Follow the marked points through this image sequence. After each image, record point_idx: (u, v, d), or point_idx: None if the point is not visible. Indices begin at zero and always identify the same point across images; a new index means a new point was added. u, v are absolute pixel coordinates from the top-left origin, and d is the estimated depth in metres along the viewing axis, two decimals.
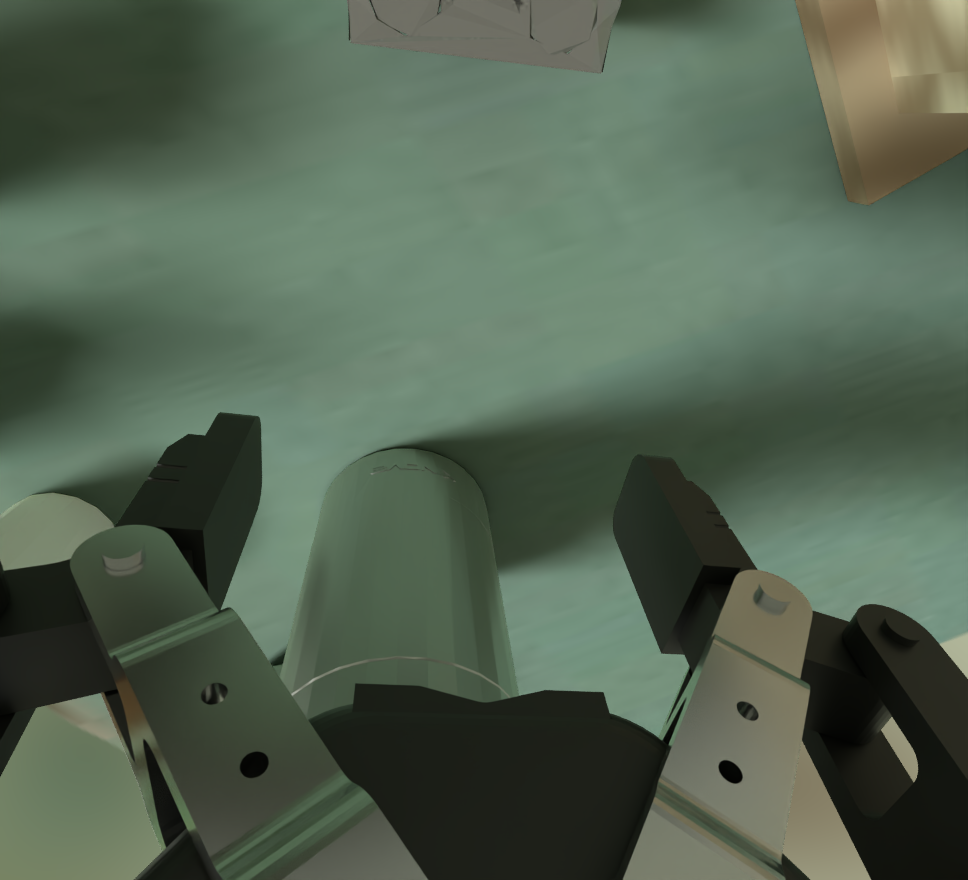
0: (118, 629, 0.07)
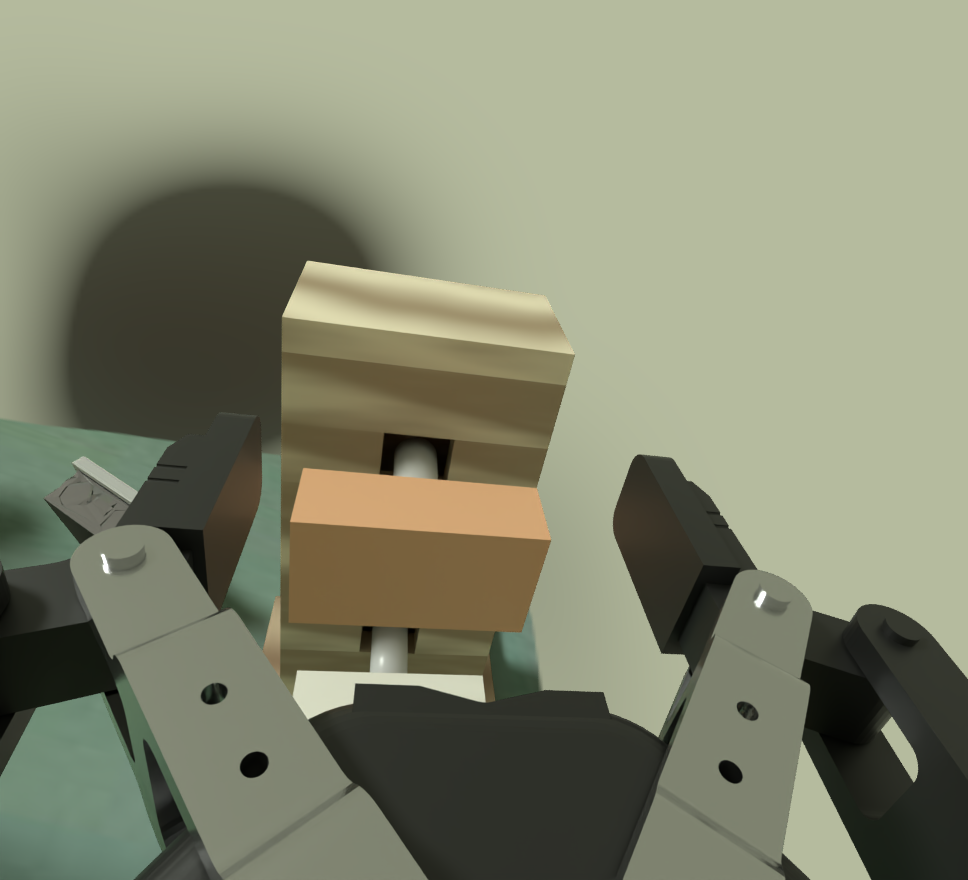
0: (118, 629, 0.07)
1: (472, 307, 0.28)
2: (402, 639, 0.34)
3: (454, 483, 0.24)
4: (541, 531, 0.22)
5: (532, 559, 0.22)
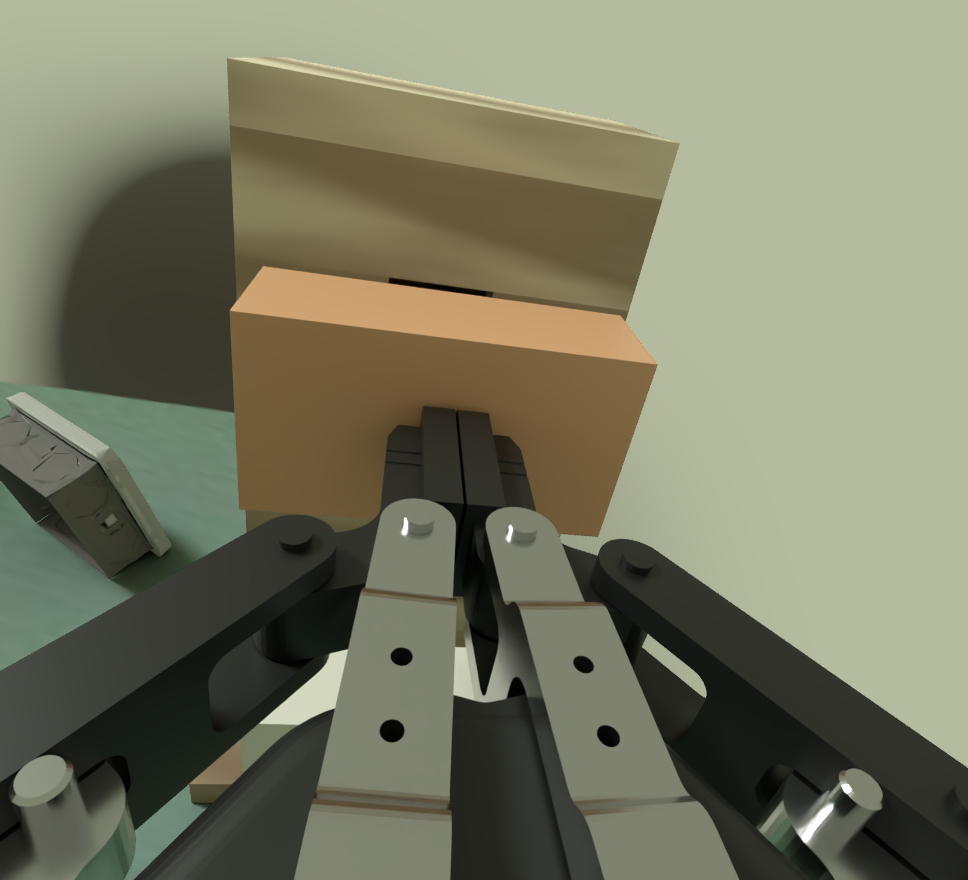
0: (381, 573, 0.09)
1: (517, 106, 0.20)
2: None
3: (496, 300, 0.15)
4: (640, 354, 0.14)
5: (624, 401, 0.14)
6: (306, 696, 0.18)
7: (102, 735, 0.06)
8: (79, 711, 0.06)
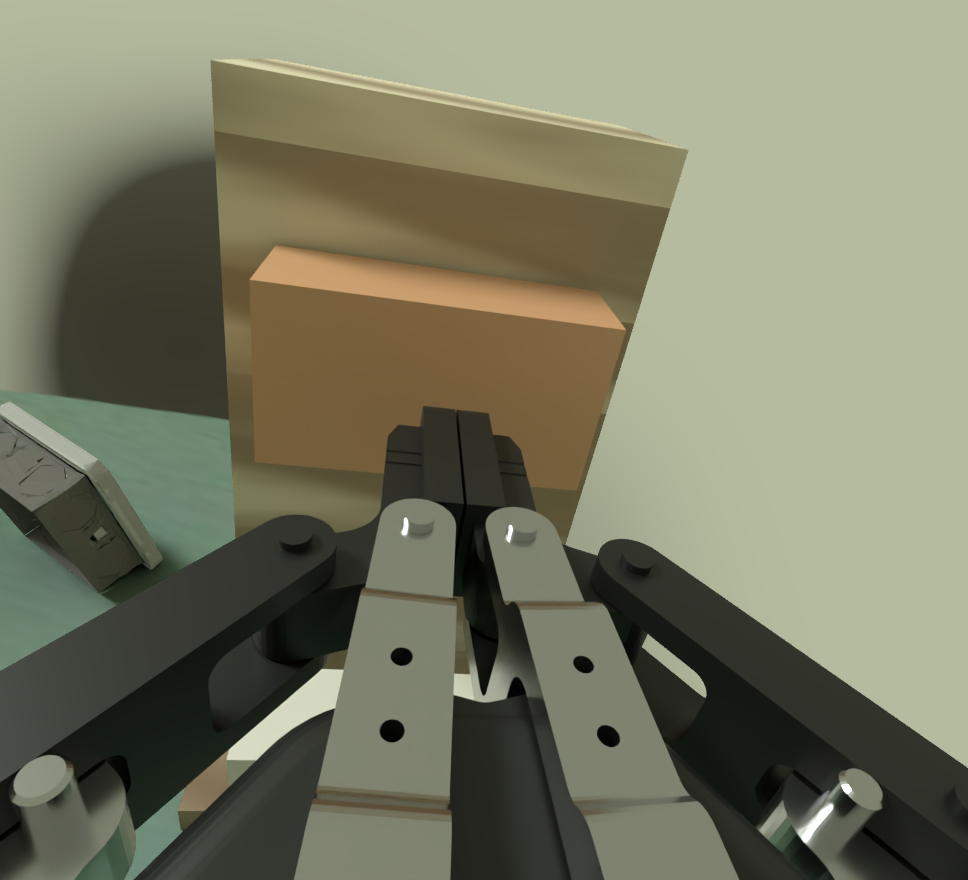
0: (381, 573, 0.09)
1: (518, 110, 0.19)
2: None
3: (485, 276, 0.17)
4: (611, 322, 0.16)
5: (598, 364, 0.16)
6: None
7: (102, 735, 0.06)
8: (79, 711, 0.06)
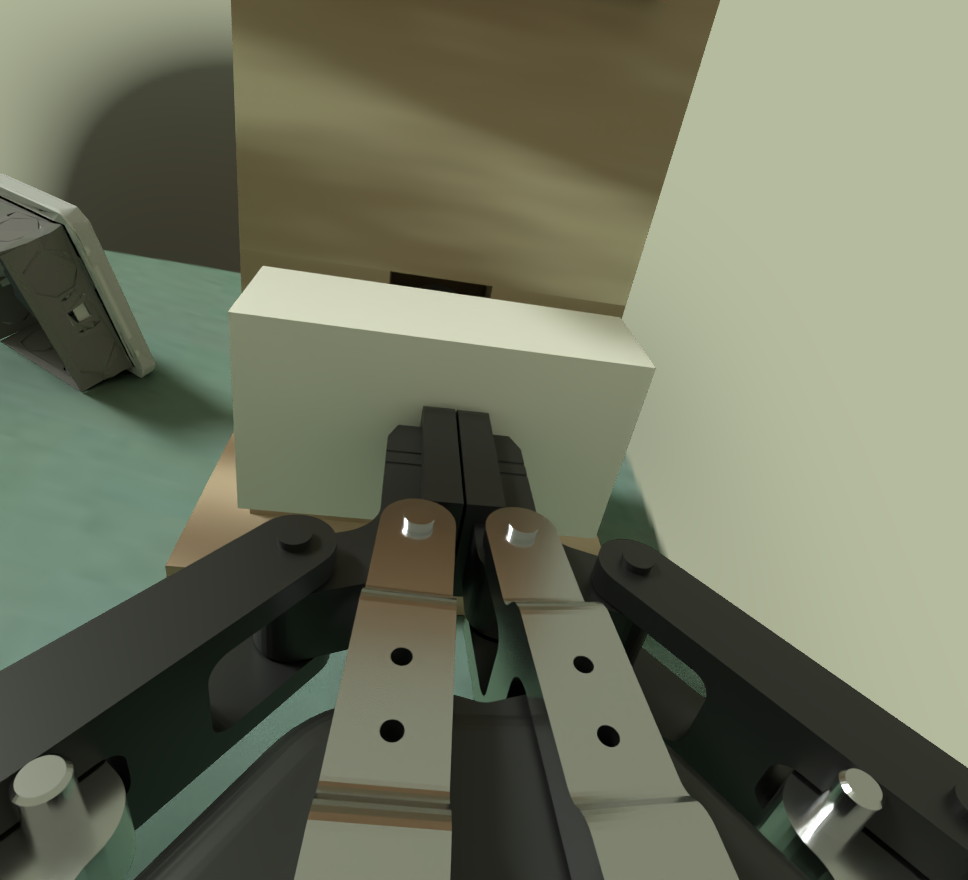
0: (381, 573, 0.09)
1: None
2: None
3: None
4: None
5: None
6: (323, 307, 0.13)
7: (102, 735, 0.06)
8: (79, 711, 0.06)
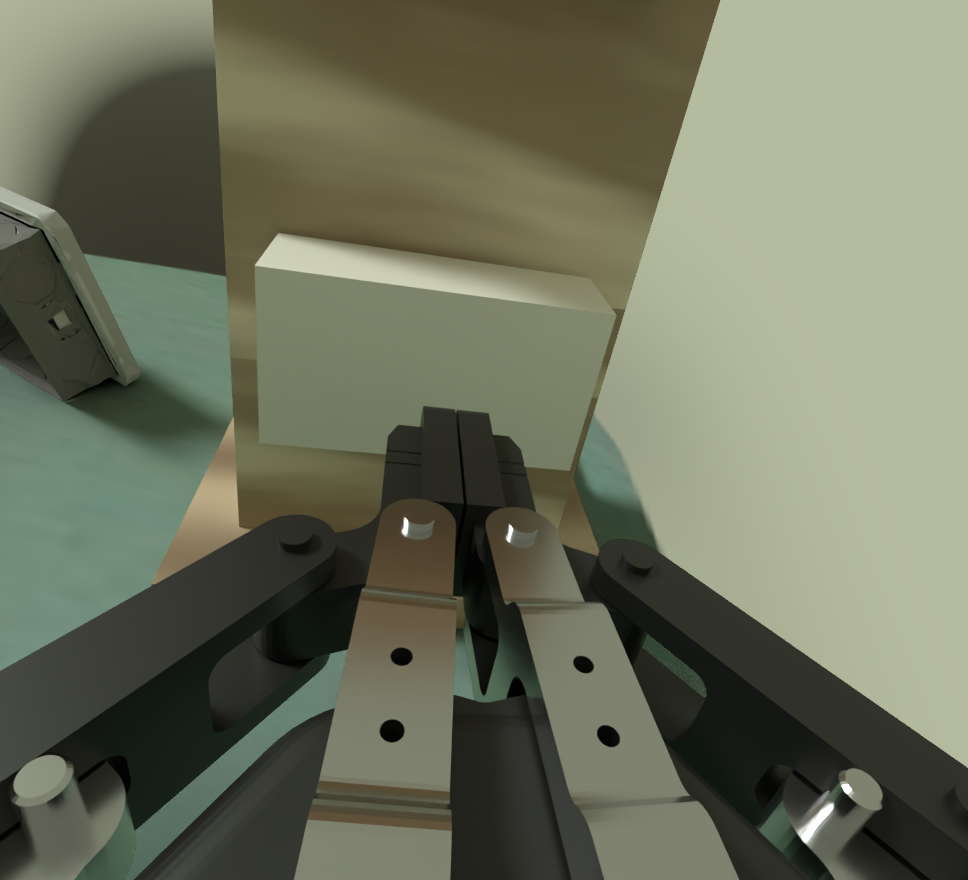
0: (381, 573, 0.09)
1: None
2: None
3: None
4: None
5: None
6: (333, 264, 0.15)
7: (102, 735, 0.06)
8: (79, 711, 0.06)
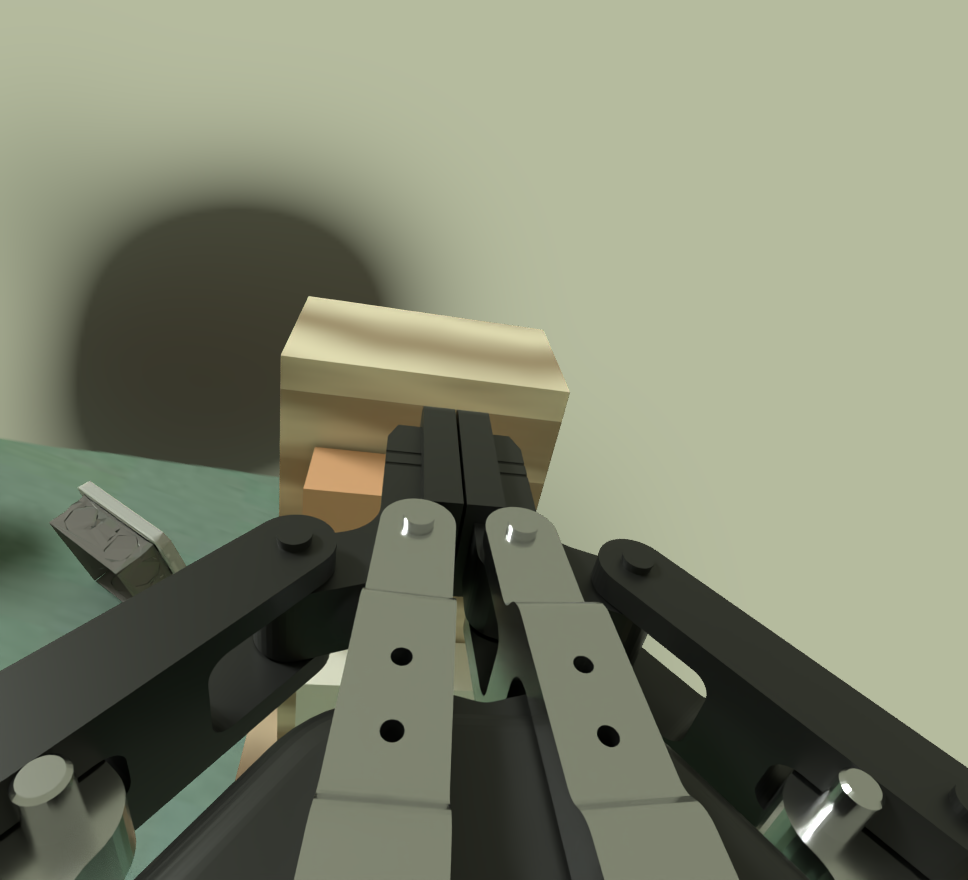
0: (381, 573, 0.09)
1: (470, 343, 0.29)
2: None
3: None
4: None
5: None
6: (334, 669, 0.31)
7: (102, 735, 0.06)
8: (79, 711, 0.06)
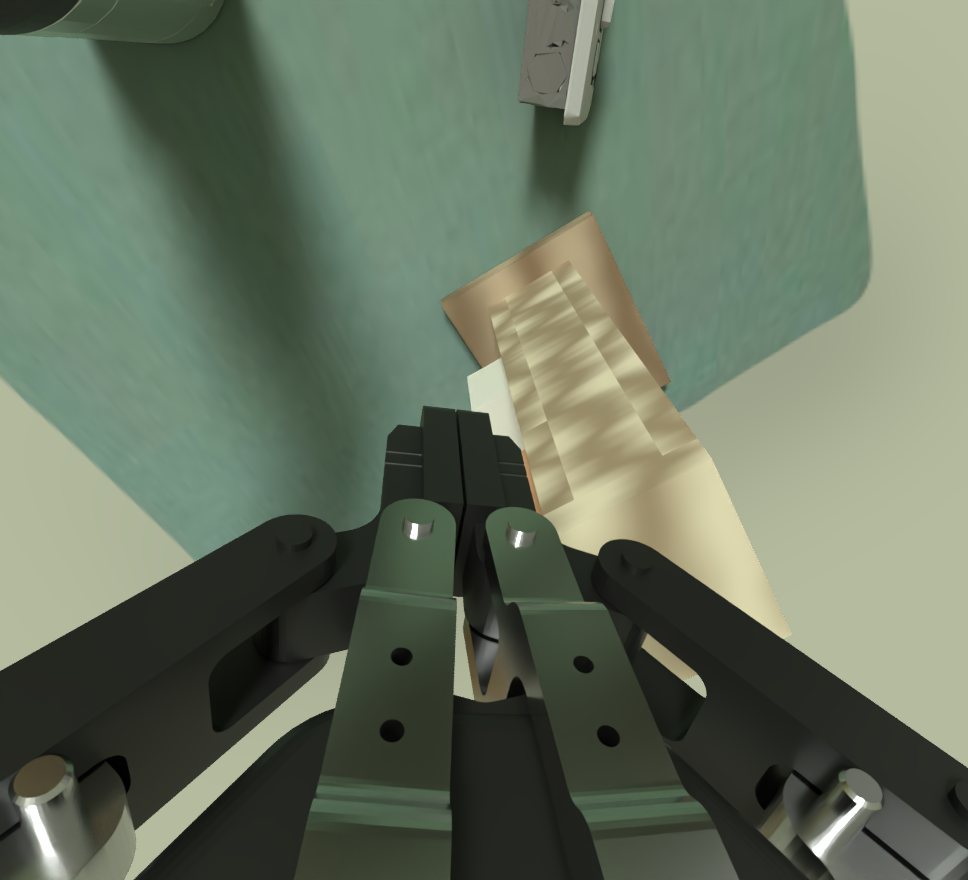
0: (381, 573, 0.09)
1: None
2: None
3: None
4: None
5: None
6: (497, 423, 0.40)
7: (102, 735, 0.06)
8: (79, 711, 0.06)
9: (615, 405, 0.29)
